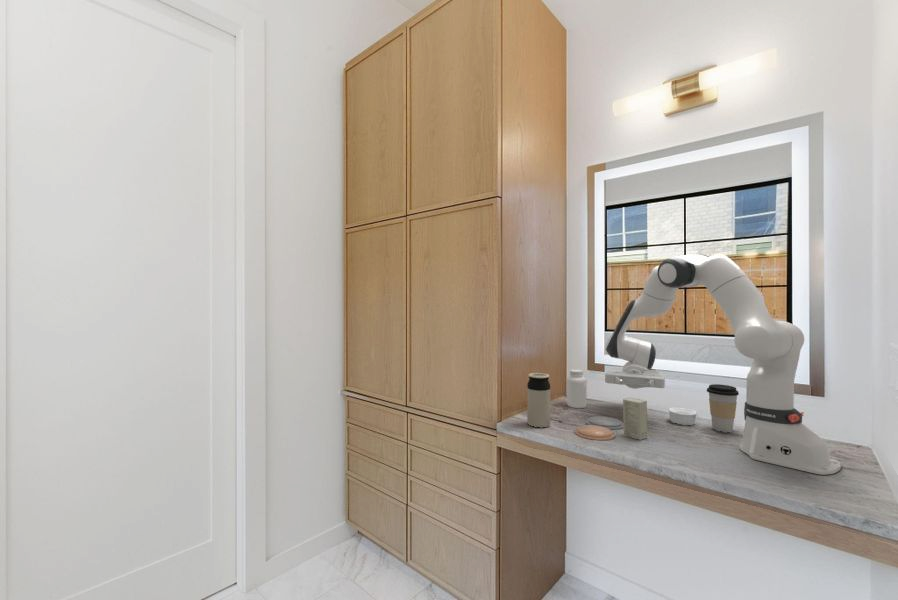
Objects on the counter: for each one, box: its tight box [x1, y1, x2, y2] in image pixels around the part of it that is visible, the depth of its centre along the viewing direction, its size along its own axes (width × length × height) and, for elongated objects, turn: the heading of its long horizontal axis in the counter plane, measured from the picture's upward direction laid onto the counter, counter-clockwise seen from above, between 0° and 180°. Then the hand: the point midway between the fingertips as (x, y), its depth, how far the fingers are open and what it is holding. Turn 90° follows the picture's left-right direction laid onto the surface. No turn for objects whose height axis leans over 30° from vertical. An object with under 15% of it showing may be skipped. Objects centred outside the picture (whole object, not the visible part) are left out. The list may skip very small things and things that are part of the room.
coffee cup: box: [705, 383, 740, 433], centre depth 144 cm, size 9×9×15 cm
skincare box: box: [622, 397, 648, 441], centre depth 137 cm, size 6×4×12 cm
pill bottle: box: [566, 369, 588, 409], centre depth 175 cm, size 8×8×15 cm
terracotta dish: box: [573, 424, 616, 441], centre depth 140 cm, size 13×13×1 cm
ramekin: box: [668, 407, 697, 426], centre depth 153 cm, size 9×9×4 cm
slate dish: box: [585, 415, 624, 431], centre depth 151 cm, size 13×13×1 cm
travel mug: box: [526, 372, 551, 429], centre depth 149 cm, size 8×8×18 cm
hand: (634, 383), depth 148 cm, fingers open, 8 cm apart
